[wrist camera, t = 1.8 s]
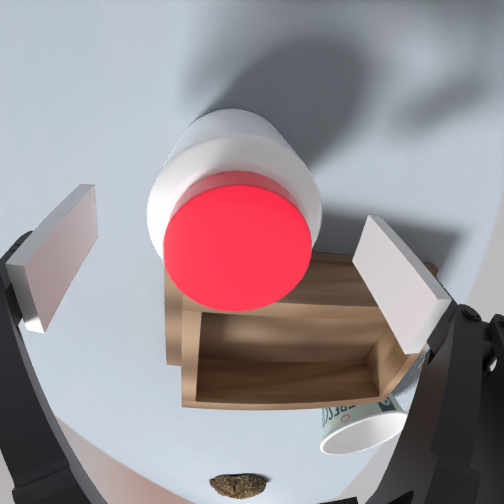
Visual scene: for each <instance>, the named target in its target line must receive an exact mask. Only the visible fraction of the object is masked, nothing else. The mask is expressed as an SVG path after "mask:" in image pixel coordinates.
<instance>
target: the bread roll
mask: <svg viewBox="0 0 504 504" xmlns="http://www.w3.org/2000/svg"><path fill="white" fill-rule="evenodd" d="M209 482H210V485H211V486H212V487H213V488H215V490H216V491H217V492H218V493H219V494H221V495H222V496H228V497H231V498H237V499H245V498H248V497H252V496H256V495H258V494H260V493H261V492H263V491H264V489H265V487H266V481H265V480H264V479H263V478H262V477H258V476H255V475H252V474H244V475H239V476H229V475H219V476H216V477H215V479H211V480H209Z"/></svg>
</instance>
